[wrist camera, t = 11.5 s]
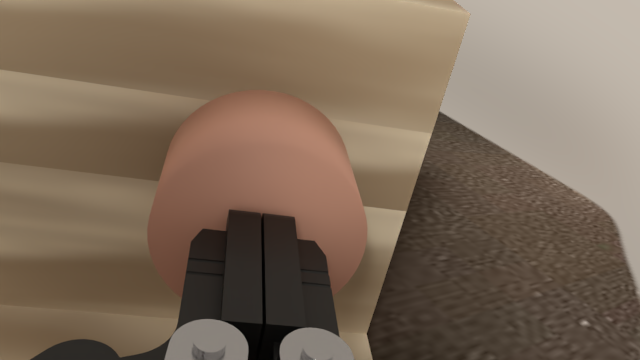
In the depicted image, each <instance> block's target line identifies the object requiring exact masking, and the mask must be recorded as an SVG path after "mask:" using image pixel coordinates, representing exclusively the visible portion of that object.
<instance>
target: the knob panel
mask: <svg viewBox="0 0 640 360" xmlns="http://www.w3.org/2000/svg"><path fill="white" fill-rule="evenodd" d="M469 17H470V13H469V12H467V11H466V10H465V9H463V8H462V7H461V6H460V5H459V4H457V3H456V2H455V1H453V0H0V360H30V359H32V358H33V357H35V356H36V355H38V354H40V353H41V352H43V351H45V350H46V349H48V348H50V347H52V346H54V345H56V344H59V343H61V342H65V341H69V340H76V339H89V340H95V341H99V342H102V343H104V344H106V345H108V346H109V347H111V348H112V349H113V350H114V351H116V353H117V354H118V356H119V357H125V356H131V355H136V354H141V353H145V352H148V351H150V350H153V349H155V348H157V347H159V346H160V345H162V344H163V343H165V342H166V341H167V340H168V339H169V338H170V337H171V336H172V334H173V333H174V331H175V329H176V327H177V323H178V318H179V312H180V305H181V299H182V298H181V297H179V296H178V295H177V294H176V293H175V292H174V291H173V290H172V289H171V288H170V287H169V286H168V285H167V284H166V283H165V282H164V280H163V279H162V277H161V276H160V275H159V273H158V271H157V269H156V267H155V266H154V264H153V261H152V258H151V255H150V252H149V247H148V241H147V227H148V221H149V215H150V212H151V208H152V205H153V201H154V198H155V194H156V191H157V187H158V184H159V180H160V176H161V173H162V169H163V166H164V162H165V159H166V155H167V152H168V149H169V146H170V143H171V141H172V139H173V137H174V135H175V133H176V131H177V130H178V129H179V127H180V126H181V124H182V123H183V122H184V121H185V120H186V119H187V118H188V117H189V116H190V115H191V114H192V113H193V112H194V111H196V110H197V109H198V108H199V107H201V106H203V105H204V104H206V103H208V102H209V101H211V100H214V99H216V98H218V97H221V96H223V95H227V94H230V93H234V92H240V91H246V90H267V91H276V92H280V93H285V94H288V95H291V96H294V97H296V98H299V99H301V100H303V101H305V102H307V103H309V104H310V105H312V106H313V107H315V108H316V109H318V110H319V111H320V112H321V113H322V114H324V115H325V116H326V117H327V118H328V119H329V120H330V122H331V123H332V124H333V125H334V126H335V128H336V129H337V131H338V132H339V134H340V136H341V138H342V140H343V142H344V145H345V147H346V150H347V154H348V157H349V160H350V164H351V167H352V170H353V174H354V177H355V180H356V184H357V187H358V190H359V194H360V197H361V200H362V204H363V207H364V211H365V215H366V219H367V242H366V247H365V252H364V254H363V257H362V260H361V262H360V264H359V266H358V268H357V270H356V271H355V273H354V274H353V276H352V277H351V278H350V280H349V281H348V282H347V284H346V285H345V286H344V287H343V288H342V289H341V290H340V291H339V292H337V293H336V294H335V295H334V296H333V301H334V307H335V313H336V319H337V324H338V330H339V336H340V338H341V339H342V340H343V341H345V343H346V344H347V345H348V346H349V348H350V349H351V351H352V354H353V356H354V359H355V360H373V359H372V355H371V351H370V346H369V342H368V338H367V331H368V328H369V325H370V322H371V319H372V316H373V313H374V310H375V307H376V304H377V301H378V297H379V294H380V291H381V288H382V285H383V282H384V279H385V276H386V273H387V270H388V267H389V264H390V260H391V257H392V254H393V251H394V248H395V245H396V242H397V239H398V236H399V233H400V230H401V227H402V224H403V220H404V217H405V214H406V211H407V208H408V205H409V202H410V199H411V196H412V193H413V190H414V187H415V183H416V180H417V177H418V174H419V171H420V168H421V165H422V162H423V159H424V156H425V153H426V150H427V147H428V143H429V140H430V137H431V134H432V131H433V128H434V125H435V122H436V119H437V116H438V113H439V110H440V106H441V103H442V100H443V97H444V94H445V91H446V88H447V85H448V82H449V78H450V76H451V72H452V70H453V66H454V63H455V60H456V57H457V54H458V51H459V48H460V45H461V42H462V39H463V36H464V32H465V30H466V26H467V23H468V20H469Z"/></svg>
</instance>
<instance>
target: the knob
mask: <svg viewBox="0 0 640 360" xmlns="http://www.w3.org/2000/svg"><path fill="white" fill-rule="evenodd" d="M229 209H232V210H240V211H248V212H257V213H261V217H262V214H263V213H266V214H275V215H283V216H292V217H295V223H296V233H297V239H303V240H312V241H315V242H316V243H317V245H318V246H319V247H320V249H321V250H322V251H323V253H324V254H325V255H326V260H327V265H328V271H329V272H328V275H329V277H330V283H331V286H330V288H331V289H332V295H333V296H334V295H335V294H336V293H337V292H339V291H340V290H341V289H342V288H343V287H344V286H345V285H346V284H347V282H348V281H349V280H350V278H351V277H352V276H353V274H354V273H355V271H356V270H357V268H358V266H359V264H360V262H361V260H362V257H363V254H364V252H365V247H366V242H367V219H366V215H365V211H364V207H363V204H362V200H361V197H360V194H359V190H358V187H357V184H356V180H355V177H354V174H353V170H352V167H351V164H350V160H349V157H348V154H347V150H346V147H345V145H344V142H343V140H342V138H341V136H340V134H339V132H338V131H337V129H336V128H335V126H334V125H333V124H332V123H331V122H330V120H329V119H328V118H327V117H326V116H325V115H324V114H322V113H321V112H320V111H319V110H318V109H316V108H315V107H313V106H312V105H310V104H309V103H307V102H305V101H303V100H301V99H299V98H296V97H294V96H291V95H288V94H285V93H280V92H276V91H267V90H246V91H240V92H234V93H230V94H227V95H223V96H221V97H218V98H216V99H214V100H211V101H209V102H208V103H206V104H204V105H203V106H201V107H199V108H198V109H197V110H196V111H194V112H193V113H192V114H191V115H190V116H189V117H188V118H187V119H186V120H185V121H184V122H183V123H182V124H181V126H180V127H179V129H178V130H177V131H176V133H175V135H174V137H173V139H172V141H171V143H170V146H169V149H168V152H167V155H166V159H165V162H164V166H163V169H162V173H161V176H160V180H159V184H158V187H157V191H156V194H155V198H154V201H153V205H152V208H151V212H150V215H149V221H148V227H147V241H148V247H149V252H150V255H151V258H152V261H153V264H154V266H155V267H156V269H157V271H158V273H159V275H160V276H161V277H162V279H163V280H164V282H165V283H166V284H167V285H168V286H169V287H170V288H171V289H172V290H173V291H174V292H175V293H176V294H177V295H178V296H179V297H181V298H182V293H183V287H184V281H185V275H186V269H187V263H188V256H189V250H190V244H191V241H192V240H193V239H194V238H195V237H196V235H197V234H198V233H199V232H200V231H201V230H202V229H212V230H221V231H225V230H226V224H227V217H228V211H229Z"/></svg>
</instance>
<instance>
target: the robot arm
mask: <svg viewBox="0 0 640 360" xmlns="http://www.w3.org/2000/svg"><path fill="white" fill-rule="evenodd" d="M328 272H329V271H328V265H327V260H326V255H325V254H324V253H323V251H322V250H321V249H320V247H319V246H318V245H317V243H316V242H315V241H312V240H303V239H297V233H296V223H295V217H292V216H283V215H275V214H266V213H263V214H262V217H261V213H257V212H248V211H240V210H232V209H229V211H228V217H227V224H226V230H225V231H221V230H212V229H202V230H201V231H200V232H199V233H198V234H197V235H196V237H195V238H194V239H193V240H192V241H191V244H190V250H189V256H188V263H187V269H186V275H185V281H184V287H183V293H182V299H181V305H180V312H179V318H178V323H177V327H176V329H175V331H174V333H173V334H172V336H171V337H170V338H169V339H168V340H167V341H166V342H165V343H163V344H162V345H160V346H159V347H157V348H155V349H153V350H150V351H148V352H145V353H141V354H136V355H131V356H125V357H119V356H118V354H117V353H116V351H114V350H113V349H112V348H111V347H109V346H108V345H106V344H104V343H102V342H99V341H95V340H89V339H76V340H69V341H65V342H61V343H59V344H56V345H54V346H52V347H50V348H48V349H46V350H45V351H43V352H41V353H40V354H38V355H36V356H35V357H33V358H32V359H30V360H355V359H354V356H353V354H352V351H351V349H350V348H349V346H348V345H347V344H346V343H345V341H343V340H342V339H341V338H340V336H339V330H338V324H337V319H336V313H335V307H334V301H333V295H332V289H331V288H330V286H331V283H330V277H329V275H328Z"/></svg>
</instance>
